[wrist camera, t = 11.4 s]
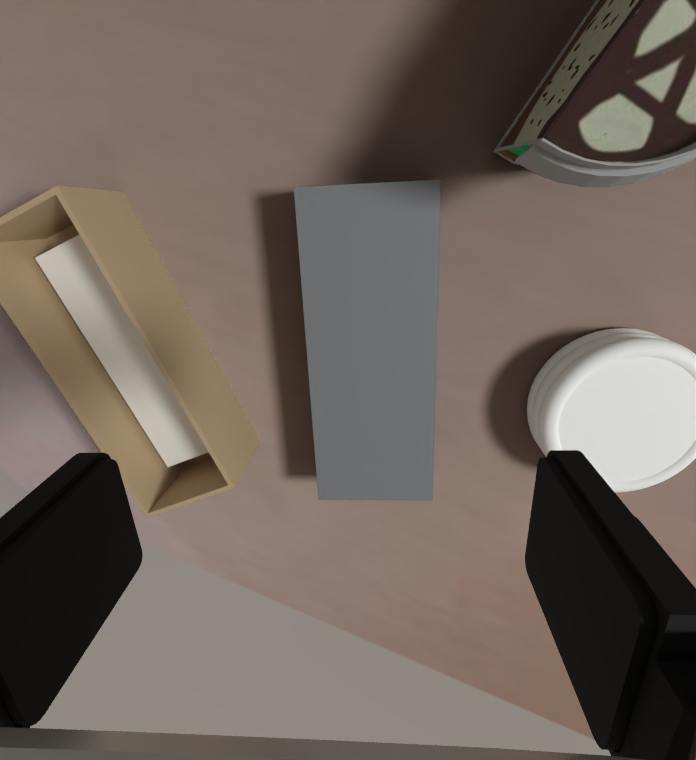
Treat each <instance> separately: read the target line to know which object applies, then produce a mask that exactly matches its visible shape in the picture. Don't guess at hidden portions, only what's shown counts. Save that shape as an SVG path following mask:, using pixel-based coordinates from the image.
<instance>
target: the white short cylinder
mask: <svg viewBox="0 0 696 760" xmlns="http://www.w3.org/2000/svg"><path fill="white" fill-rule="evenodd" d="M527 418H528V424H529V428H530V431H531V434H532V436H533V438H534V440H535V441H536V443H537V445H538V446H539V447H540V449H541V450H542V452H543V454H544V455H545V456H546V457H547V454H548V452H549V451H551V450H578V451H580V452H582V453H583V454H584V456H585V457H586V458H587V459H588V461H589V462H590V463H591V464H592V466H593V467H594V468H595V469H596V470H597V472H598V473H599V474H600V475H601V477H602V478H603V479H604V480H605V481H606V483H607V484H608V485H609V486H610V488H611V489H612V490H613V491H614V492H627V491H634V490H639V489H643V488H647V487H650V486H652V485H655V484H658V483H660V482H662V481H664V480H666V479H669V478H670V477H672V476H674V475H675V474H677V473H678V472H680V471H681V470H682V469H684V468H685V467H686V466H688V465H689V464H690V463H691V462H692V461H693V460H694V459H695V458H696V354H695V353H693V352H692V351H690V350H689V349H687V348H685V347H683V346H682V345H680V344H677V343H674V342H672V341H670V340H668V339H666V338H663V337H660V336H658V335H656V334H654V333H651V332H648V331H645V330H639V329H632V328H616V329H606V330H601V331H596V332H593V333H590V334H587V335H584V336H582V337H580V338H578V339H575V340H574V341H572V342H570V343H568V344H567V345H565V346H564V347H562V348H561V349H560V350H558V351H557V352H556V353H555V354H554V355H553V356H552V357H551V358H550V359H548V360H547V362H546V363H545V364H544V365H543V367H542V368H541V369H540V371H539V372H538V374H537V375H536V377H535V379H534V381H533V383H532V386H531V389H530V392H529V395H528V401H527Z"/></svg>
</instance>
